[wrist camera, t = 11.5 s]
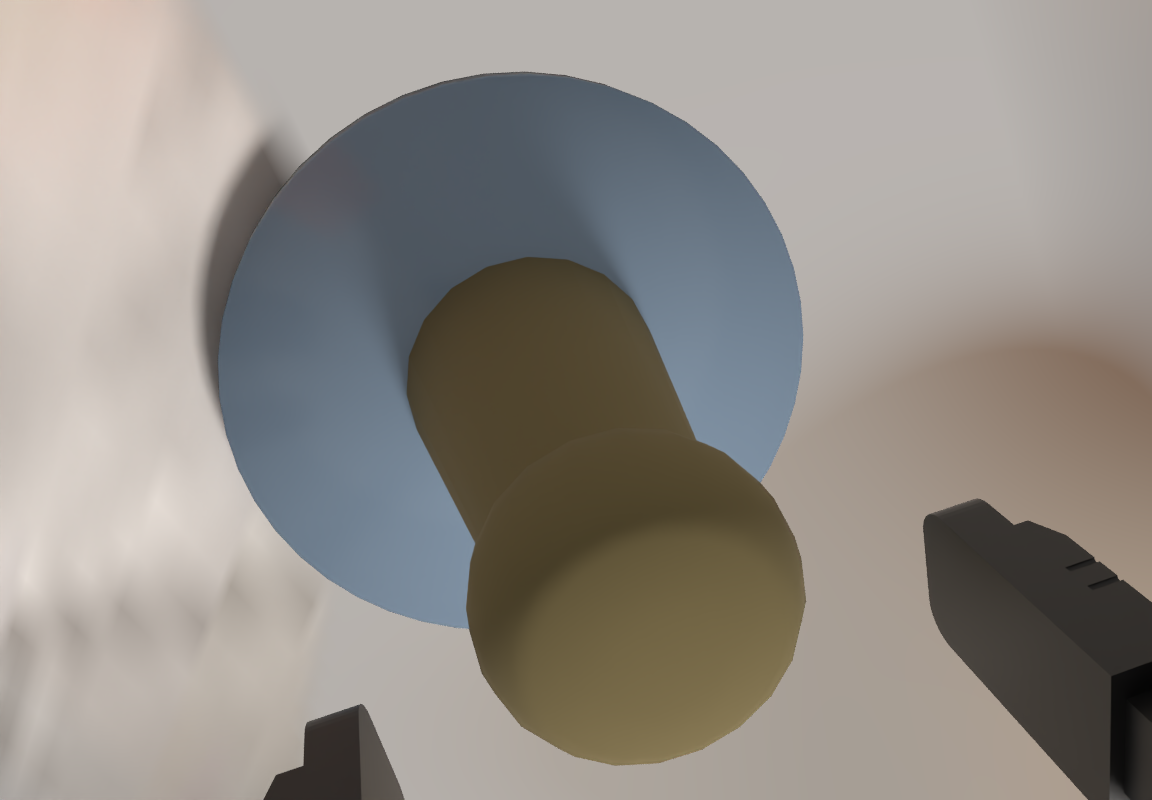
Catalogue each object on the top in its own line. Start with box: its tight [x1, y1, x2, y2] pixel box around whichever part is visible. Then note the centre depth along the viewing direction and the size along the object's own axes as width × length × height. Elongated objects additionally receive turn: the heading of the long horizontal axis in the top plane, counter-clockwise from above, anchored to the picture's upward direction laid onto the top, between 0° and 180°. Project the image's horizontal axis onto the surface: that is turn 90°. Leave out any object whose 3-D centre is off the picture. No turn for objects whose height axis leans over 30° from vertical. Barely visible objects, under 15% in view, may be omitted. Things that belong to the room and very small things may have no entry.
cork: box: [407, 257, 806, 765], centre depth 19 cm, size 6×6×11 cm
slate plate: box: [218, 72, 803, 629], centre depth 24 cm, size 14×14×1 cm
